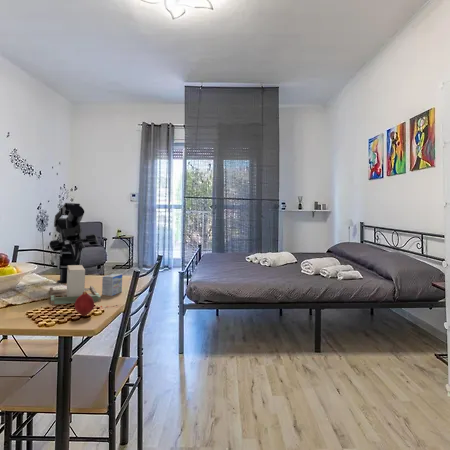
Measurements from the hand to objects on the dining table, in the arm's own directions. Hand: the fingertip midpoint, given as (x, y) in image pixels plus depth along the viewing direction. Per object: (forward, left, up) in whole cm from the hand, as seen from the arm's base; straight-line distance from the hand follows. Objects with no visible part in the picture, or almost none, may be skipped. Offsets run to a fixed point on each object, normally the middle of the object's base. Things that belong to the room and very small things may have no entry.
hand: (75, 260), depth 148 cm
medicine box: (+21, -2, -12) cm, 25 cm away
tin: (+15, -15, -11) cm, 24 cm away
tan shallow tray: (+12, -12, -12) cm, 21 cm away
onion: (+31, -27, -12) cm, 43 cm away
